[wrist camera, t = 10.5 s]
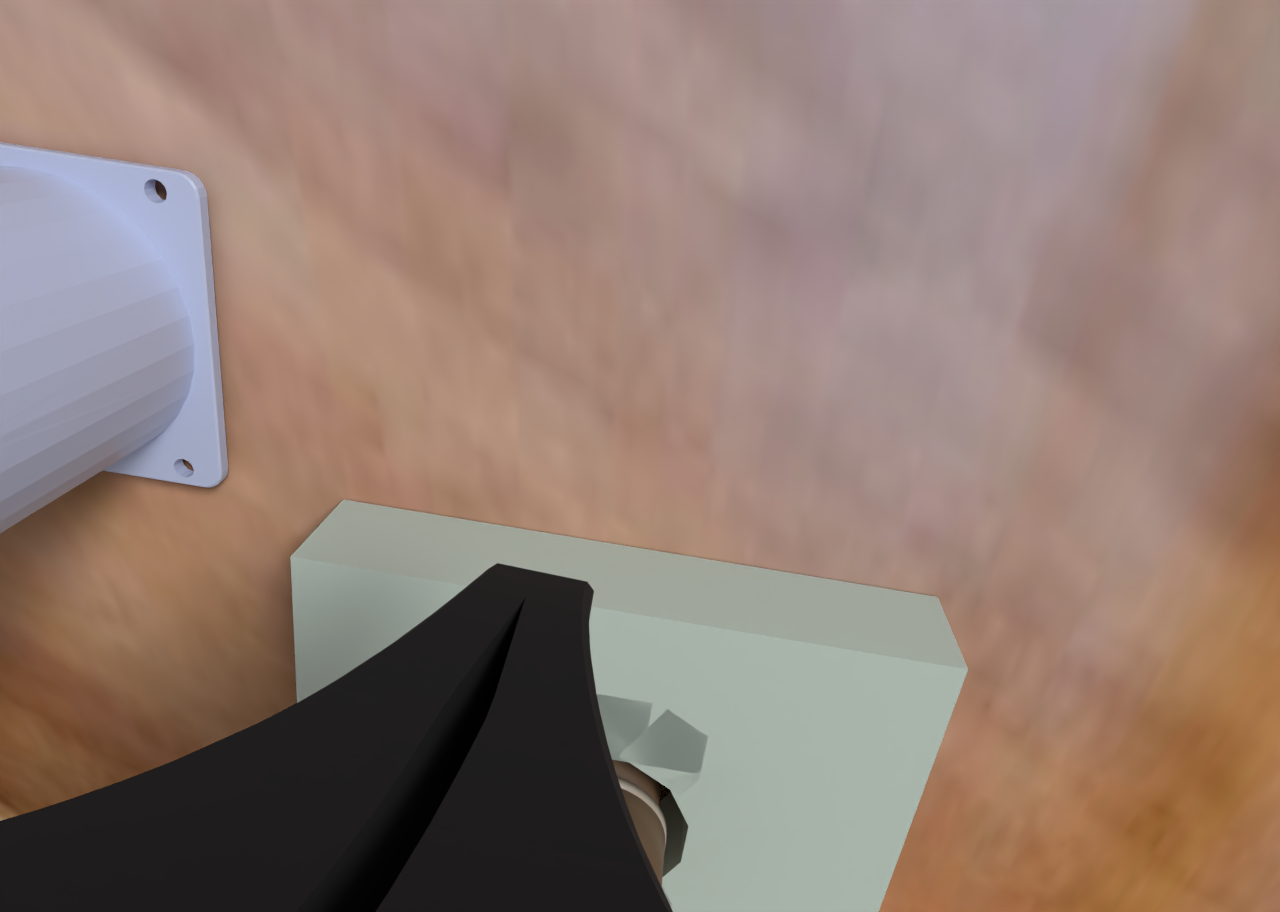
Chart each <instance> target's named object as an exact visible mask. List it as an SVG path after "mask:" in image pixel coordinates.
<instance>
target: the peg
mask: <svg viewBox="0 0 1280 912" xmlns="http://www.w3.org/2000/svg"><path fill="white" fill-rule="evenodd" d="M612 761H613V764H614V768H615V771H616V774H617V777H618V780H619V783H620V786H621V789H622V792H623V795H624V798H625V801H626V804H627V807H628V809H629V812H630V815H631V817H632V820H633V823H634V825H635V828H636V830H637V833H638V836H639V838H640V841H641V843H642V845H643V848H644V850H645V852H646V854H647V856H648V858H649V861H650V863H651V865H652V867H653V869H654V872H655V874H656V876H657V878H658V880H659V883H660V885H661V887H662V877H663V864H664V851H665V845H666V835H667V827H666V821H665V818H664V815H663V812H662V811H661V809H660V807H659V799H660V788H661V783H659V782H658V781H656V780H655V779H653V778H652V777H650V776H649V775H647V774H646V773H644V772H643V771H641V770H640V769H638V768H637V767H635V766H634V765H632V764H631V763H629V762H624V761H618V760H612Z"/></svg>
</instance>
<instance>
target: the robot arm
mask: <svg viewBox="0 0 1280 912" xmlns="http://www.w3.org/2000/svg"><path fill="white" fill-rule="evenodd" d="M157 180H158V181H160V182H161V183H162V184H163V185H164V186H165V189H166V191H167V196H166V200H163V199H161V198H160V197H159V196H158V194H157V192H156V189H155V184H156V181H157ZM183 459H184V460H186V461H188V462H189V463H190V464H191V465H192V467H193V469H194V471H192V470H189V469H188V468H187V467H186V466H185V465H184V463H183ZM101 471H108V472H114V473H120V474H126V475H132V476H138V477H144V478H150V479H156V480H162V481H168V482H174V483H180V484H187V485H193V486H199V487H205V488H207V487H214V486H216V485H218V484H219V483H220V482H222V481H223V480H224V479H225V478H226V476H227V474H228V459H227V447H226V434H225V421H224V408H223V395H222V382H221V369H220V356H219V343H218V330H217V317H216V305H215V292H214V279H213V266H212V253H211V240H210V227H209V214H208V201H207V194H206V190H205V187H204V185H203V184H202V182H201V181H200V179H199V178H198V177H196V176H195V175H194V174H193V173H190V172H188V171H185V170H179V169H173V168H166V167H160V166H153V165H147V164H140V163H134V162H127V161H121V160H114V159H108V158H101V157H95V156H88V155H82V154H75V153H69V152H62V151H56V150H49V149H43V148H36V147H30V146H23V145H16V144H10V143H3V142H0V533H2V532H4V531H5V530H7V529H8V528H10V527H12V526H13V525H15V524H17V523H18V522H20V521H21V520H23V519H25V518H26V517H28V516H30V515H31V514H33V513H34V512H36V511H38V510H39V509H41V508H42V507H44V506H46V505H47V504H49V503H51V502H52V501H54V500H55V499H57V498H59V497H60V496H62V495H64V494H65V493H67V492H68V491H70V490H72V489H73V488H75V487H77V486H78V485H80V484H81V483H83V482H85V481H86V480H88V479H90V478H91V477H93V476H94V475H96V474H98V473H99V472H101ZM593 594H594V590H593V589H592V587H591V586H590V585H589V583H588V582H587V581H582V580H577V579H572V578H568V577H563V576H558V575H553V574H548V573H543V572H538V571H534V570H529V569H524V568H519V567H514V566H509V565H504V564H499V563H497V564H495V565H494V566H492V567H490V568H489V569H487V570H486V571H485V572H484V573H482V574H481V575H480V576H479V577H478V578H476V579H475V580H474V581H473V582H472V583H470V584H469V585H468V586H467V587H466V588H464V589H463V590H462V591H461V592H459V593H458V594H457V595H456V596H454V597H453V598H452V599H451V600H449V601H448V602H447V603H446V604H444V605H443V606H442V607H441V608H439V609H438V610H437V611H435V612H434V613H433V614H431V615H430V616H429V617H427V618H426V619H425V620H423V621H422V622H421V623H419V624H418V625H417V626H415V627H414V628H413V629H411V630H410V631H408V632H407V633H406V634H404V635H403V636H402V637H400V638H399V639H398V640H396V641H395V642H393V643H392V644H391V645H389V646H388V647H386V648H385V649H383V650H382V651H380V652H379V653H377V654H376V655H374V656H373V657H371V658H369V659H368V660H366V661H365V662H363V663H362V664H360V665H359V666H357V667H356V668H354V669H353V670H351V671H350V672H348V673H347V674H345V675H344V676H342V677H340V678H339V679H337V680H336V681H334V682H332V683H331V684H329V685H327V686H326V687H324V688H322V689H320V690H319V691H317V692H315V693H314V694H312V695H310V696H308V697H307V698H305V699H303V700H301V701H300V702H298V703H296V704H294V705H292V706H290V707H288V708H287V709H285V710H283V711H281V712H279V713H277V714H275V715H273V716H272V717H270V718H268V719H266V720H264V721H262V722H259V723H257V724H255V725H253V726H251V727H249V728H247V729H244V730H242V731H240V732H238V733H235V734H233V735H231V736H229V737H226V738H224V739H222V740H220V741H218V742H215V743H213V744H211V745H209V746H206V747H204V748H202V749H200V750H197V751H195V752H193V753H191V754H188V755H186V756H184V757H182V758H179V759H177V760H175V761H172V762H170V763H167V764H165V765H162V766H160V767H157V768H155V769H152V770H149V771H147V772H144V773H142V774H139V775H136V776H134V777H131V778H129V779H126V780H123V781H121V782H118V783H115V784H112V785H109V786H107V787H104V788H101V789H98V790H95V791H92V792H90V793H87V794H84V795H81V796H78V797H75V798H73V799H70V800H67V801H64V802H61V803H58V804H55V805H51V806H48V807H45V808H42V809H39V810H36V811H33V812H29V813H26V814H23V815H19V816H16V817H12V818H9V819H6V820H2V821H0V912H673V911H672V909H671V907H670V904H669V902H668V900H667V898H666V896H665V893H664V891H663V889H662V887H661V885H660V883H659V880H658V878H657V876H656V874H655V872H654V869H653V867H652V865H651V863H650V861H649V858H648V856H647V854H646V852H645V850H644V848H643V845H642V843H641V841H640V838H639V836H638V833H637V830H636V828H635V825H634V823H633V820H632V817H631V815H630V812H629V809H628V807H627V804H626V801H625V798H624V795H623V792H622V789H621V786H620V783H619V780H618V777H617V774H616V771H615V768H614V764H613V761H612V758H611V754H610V750H609V747H608V743H607V739H606V735H605V731H604V726H603V722H602V718H601V714H600V709H599V704H598V699H597V694H596V687H595V681H594V674H593V667H592V660H591V651H590V634H589V618H590V612H591V606H592V600H593Z"/></svg>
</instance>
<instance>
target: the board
mask: <svg viewBox="0 0 1280 912" xmlns="http://www.w3.org/2000/svg"><path fill="white" fill-rule="evenodd" d="M290 559H291V581H292V603H293V625H294V647H295V669H296V691H297V703H298V702H300V701H301V700H303V699H305V698H307V697H308V696H310V695H312V694H314V693H315V692H317V691H319V690H320V689H322V688H324V687H326V686H327V685H329V684H331V683H332V682H334V681H336V680H337V679H339V678H340V677H342V676H344V675H345V674H347V673H348V672H350V671H351V670H353V669H354V668H356V667H357V666H359V665H360V664H362V663H363V662H365V661H366V660H368V659H369V658H371V657H373V656H374V655H376V654H377V653H379V652H380V651H382V650H383V649H385V648H386V647H388V646H389V645H391V644H392V643H393V642H395V641H396V640H398V639H399V638H400V637H402V636H403V635H404V634H406V633H407V632H408V631H410V630H411V629H413V628H414V627H415V626H417V625H418V624H419V623H421V622H422V621H423V620H425V619H426V618H427V617H429V616H430V615H431V614H433V613H434V612H435V611H437V610H438V609H439V608H441V607H442V606H443V605H444V604H446V603H447V602H448V601H449V600H451V599H452V598H453V597H454V596H456V595H457V594H458V593H459V592H461V591H462V590H463V589H464V588H466V587H467V586H468V585H469V584H470V583H472V582H473V581H474V580H475V579H476V578H478V577H479V576H480V575H481V574H482V573H484V572H485V571H486V570H487V569H489V568H490V567H492V566H494V565H495V564H497V563H499V564H504V565H509V566H514V567H519V568H524V569H529V570H534V571H538V572H543V573H548V574H553V575H558V576H563V577H568V578H572V579H577V580H582V581H587V582H588V583H589V585H590V586H591V587H592V589H593V590H594V594H593V600H592V606H591V612H590V618H589V634H590V651H591V660H592V667H593V674H594V681H595V687H596V694H597V699H598V704H599V709H600V714H601V718H602V722H603V726H604V731H605V735H606V739H607V743H608V747H609V750H610V754H611V758H612V760H618V761H624V762H629V763H631V764H632V765H634V766H635V767H637V768H638V769H640V770H641V771H643V772H644V773H646V774H647V775H649V776H650V777H652V778H653V779H655V780H656V781H658V782H659V783H661V784H662V785H664V786H665V787H667V788H668V789H670V791H671V792H670V793H669V794H667V795H666V796H665V797H664V798H663V799H662V800H661V801H660V802H659V807H660V809H661V811H662V812H663V815H664V818H665V821H666V827H667V835H666V845H665V851H664V864H663V877H662V889H663V891H664V893H665V896H666V898H667V900H668V902H669V904H670V907H671V909H672V911H673V912H879V909H880V907H881V904H882V901H883V898H884V896H885V893H886V890H887V888H888V885H889V882H890V879H891V877H892V874H893V871H894V869H895V866H896V863H897V860H898V858H899V855H900V852H901V850H902V847H903V844H904V842H905V839H906V836H907V833H908V831H909V828H910V825H911V823H912V820H913V817H914V814H915V812H916V809H917V806H918V804H919V801H920V798H921V796H922V793H923V790H924V787H925V785H926V782H927V779H928V777H929V774H930V771H931V768H932V766H933V763H934V760H935V758H936V755H937V752H938V749H939V747H940V744H941V741H942V739H943V736H944V733H945V731H946V728H947V725H948V722H949V720H950V717H951V714H952V712H953V709H954V706H955V703H956V701H957V698H958V695H959V693H960V690H961V687H962V684H963V682H964V679H965V676H966V674H967V671H968V668H967V666H966V663H965V661H964V659H963V656H962V654H961V652H960V649H959V647H958V644H957V642H956V640H955V637H954V635H953V632H952V630H951V628H950V625H949V623H948V621H947V618H946V616H945V613H944V611H943V609H942V606H941V604H940V601H939V599H938V597H934V596H928V595H922V594H916V593H910V592H904V591H898V590H891V589H885V588H879V587H873V586H867V585H861V584H855V583H849V582H843V581H837V580H831V579H824V578H818V577H812V576H806V575H800V574H794V573H788V572H782V571H776V570H770V569H764V568H757V567H751V566H745V565H739V564H733V563H727V562H721V561H715V560H709V559H703V558H697V557H691V556H684V555H678V554H672V553H666V552H660V551H654V550H648V549H642V548H636V547H630V546H624V545H617V544H611V543H605V542H599V541H593V540H587V539H581V538H575V537H569V536H563V535H557V534H550V533H544V532H538V531H532V530H526V529H520V528H514V527H508V526H502V525H496V524H490V523H484V522H477V521H471V520H465V519H459V518H453V517H447V516H441V515H435V514H429V513H423V512H417V511H410V510H404V509H398V508H392V507H386V506H380V505H374V504H368V503H362V502H356V501H350V500H342V501H341V502H340V504H339V505H338V506H337V507H336V508H335V509H334V510H333V511H332V512H331V513H330V514H329V515H328V516H327V518H326V519H325V520H324V521H323V522H322V523H321V524H320V525H319V526H318V527H317V528H316V529H315V531H314V532H313V533H312V534H311V535H310V536H309V537H308V538H307V539H306V540H305V541H304V542H303V544H302V545H301V546H300V547H299V548H298V549H297V550H296V551H295V552H294V553H293V554H292V555H291V556H290Z"/></svg>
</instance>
